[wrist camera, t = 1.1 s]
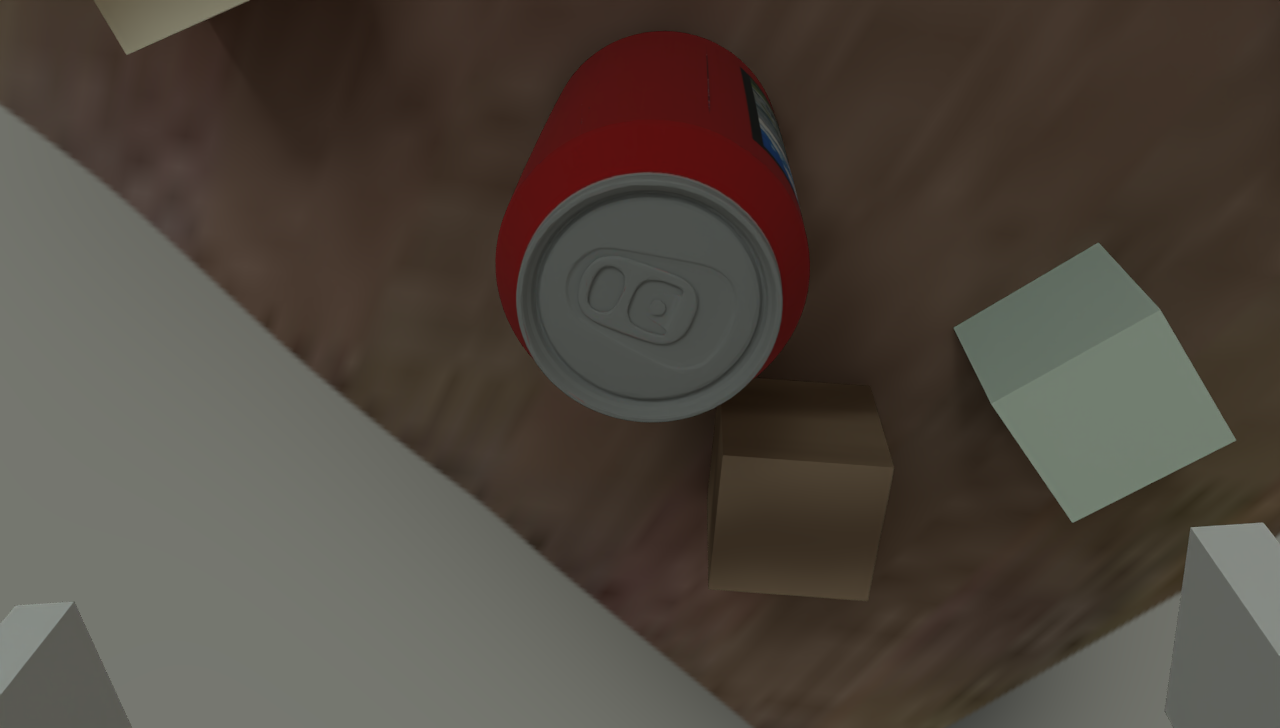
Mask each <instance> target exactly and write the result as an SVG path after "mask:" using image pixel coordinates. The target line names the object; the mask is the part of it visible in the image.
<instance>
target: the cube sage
mask: <svg viewBox="0 0 1280 728" xmlns="http://www.w3.org/2000/svg"><path fill="white" fill-rule="evenodd" d="M954 330H955V332H956V334H957V336H958V338H959V340H960V342H961V344H962V346H963V348H964V350H965V352H966V354H967V356H968V358H969V360H970V362H971V364H972V367H973V369H974V371H975V373H976V375H977V377H978V379H979V381H980V383H981V385H982V387H983V389H984V391H985V393H986V395H987V397H988V399H989V401H990V403H991V405H992V406H993V408H994V409H995V410H996V412H997V413H998V415H999V416H1000V418H1001V419H1002V421H1003V422H1004V424H1005V425H1006V427H1007V428H1008V429H1009V431H1010V432H1011V434H1012V435H1013V437H1014V438H1015V440H1016V441H1017V443H1018V444H1019V446H1020V447H1021V448H1022V450H1023V451H1024V453H1025V454H1026V456H1027V457H1028V459H1029V460H1030V462H1031V463H1032V465H1033V466H1034V468H1035V469H1036V470H1037V472H1038V473H1039V475H1040V476H1041V478H1042V479H1043V481H1044V482H1045V484H1046V485H1047V487H1048V488H1049V489H1050V491H1051V492H1052V494H1053V495H1054V497H1055V498H1056V500H1057V501H1058V503H1059V504H1060V506H1061V507H1062V508H1063V510H1064V511H1065V513H1066V514H1067V516H1068V517H1069V519H1070V520H1071V522H1072V523H1074V522H1076V521H1078V520H1079V519H1081V518H1083V517H1085V516H1087V515H1089V514H1091V513H1093V512H1095V511H1097V510H1099V509H1101V508H1103V507H1105V506H1107V505H1109V504H1111V503H1113V502H1115V501H1117V500H1119V499H1121V498H1123V497H1125V496H1127V495H1129V494H1131V493H1133V492H1135V491H1137V490H1139V489H1141V488H1143V487H1145V486H1147V485H1149V484H1151V483H1153V482H1155V481H1157V480H1159V479H1161V478H1163V477H1165V476H1167V475H1169V474H1171V473H1173V472H1175V471H1176V470H1178V469H1180V468H1182V467H1184V466H1186V465H1188V464H1190V463H1192V462H1194V461H1196V460H1198V459H1200V458H1202V457H1204V456H1206V455H1208V454H1210V453H1212V452H1214V451H1216V450H1218V449H1220V448H1222V447H1224V446H1226V445H1228V444H1230V443H1232V442H1234V441H1236V439H1235V437H1234V436H1233V434H1232V432H1231V430H1230V429H1229V427H1228V425H1227V424H1226V422H1225V420H1224V418H1223V417H1222V415H1221V413H1220V411H1219V410H1218V408H1217V406H1216V405H1215V403H1214V401H1213V399H1212V398H1211V396H1210V394H1209V393H1208V391H1207V389H1206V387H1205V386H1204V384H1203V382H1202V380H1201V379H1200V377H1199V375H1198V374H1197V372H1196V370H1195V368H1194V367H1193V365H1192V363H1191V362H1190V360H1189V358H1188V356H1187V355H1186V353H1185V351H1184V349H1183V348H1182V346H1181V344H1180V343H1179V341H1178V339H1177V337H1176V336H1175V334H1174V332H1173V331H1172V329H1171V327H1170V325H1169V324H1168V322H1167V320H1166V318H1165V317H1164V315H1163V313H1162V312H1161V310H1160V309H1159V308H1158V307H1157V305H1156V304H1155V303H1154V302H1153V301H1152V300H1151V299H1150V298H1149V297H1148V296H1147V295H1146V294H1145V292H1144V291H1143V290H1142V289H1141V288H1140V287H1139V286H1138V285H1137V284H1136V283H1135V282H1134V280H1133V279H1132V278H1131V277H1130V276H1129V275H1128V274H1127V273H1126V272H1125V271H1124V270H1123V269H1122V267H1121V266H1120V265H1119V264H1118V263H1117V262H1116V261H1115V260H1114V259H1113V258H1112V257H1111V256H1110V254H1109V253H1108V252H1107V251H1106V250H1105V249H1104V248H1103V247H1102V246H1101V245H1100V244H1099V243H1097V244H1095V245H1093V246H1092V247H1090V248H1088V249H1087V250H1085V251H1083V252H1081V253H1080V254H1078V255H1076V256H1075V257H1073V258H1071V259H1070V260H1068V261H1066V262H1064V263H1063V264H1061V265H1059V266H1058V267H1056V268H1054V269H1053V270H1051V271H1049V272H1047V273H1046V274H1044V275H1042V276H1041V277H1039V278H1037V279H1036V280H1034V281H1032V282H1030V283H1029V284H1027V285H1025V286H1024V287H1022V288H1020V289H1019V290H1017V291H1015V292H1013V293H1012V294H1010V295H1008V296H1007V297H1005V298H1003V299H1002V300H1000V301H998V302H996V303H995V304H993V305H991V306H990V307H988V308H986V309H985V310H983V311H981V312H979V313H978V314H976V315H974V316H973V317H971V318H969V319H968V320H966V321H964V322H962V323H961V324H959V325H957V326H956V327H954Z"/></svg>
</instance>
